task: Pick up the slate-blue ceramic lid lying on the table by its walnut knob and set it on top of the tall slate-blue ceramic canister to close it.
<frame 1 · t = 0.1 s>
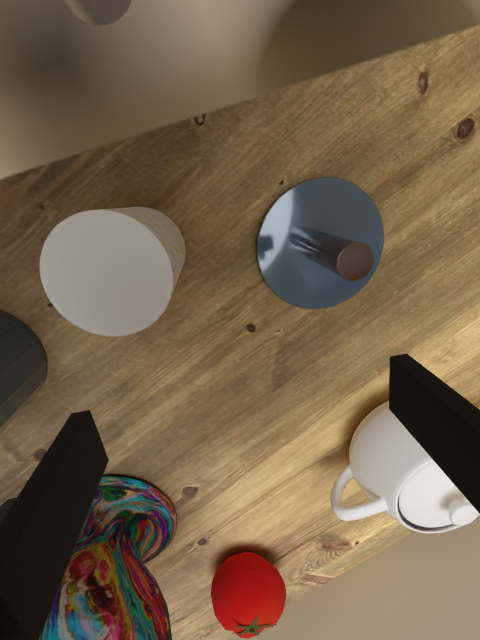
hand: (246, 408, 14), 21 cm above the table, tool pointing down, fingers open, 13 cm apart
teapot: (402, 429, 43), on the table
vase: (115, 519, 44), on the table
white cylinder: (144, 250, 32), on the table
tomato: (245, 560, 49), on the table
canister lid: (319, 247, 33), point 1 cm above the table
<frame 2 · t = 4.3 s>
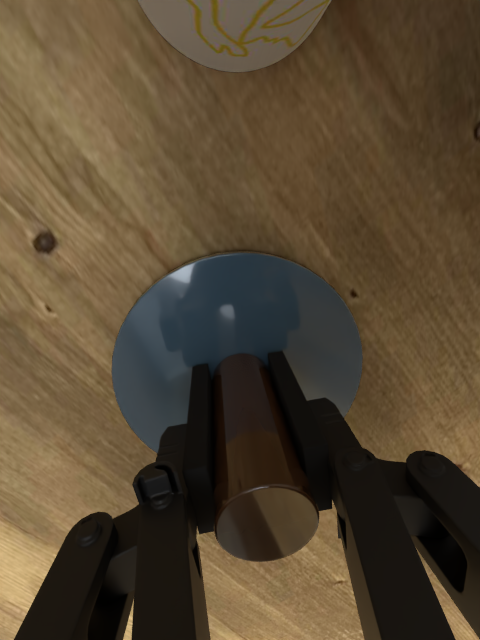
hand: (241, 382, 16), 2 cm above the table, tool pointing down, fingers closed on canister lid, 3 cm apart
canister lid: (240, 373, 17), point 1 cm above the table, touching gripper
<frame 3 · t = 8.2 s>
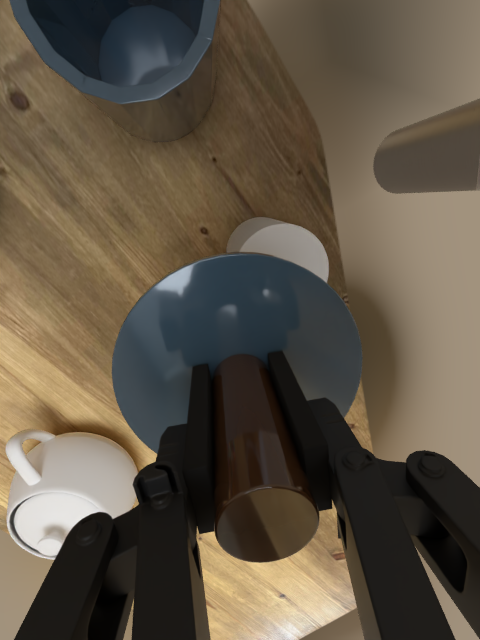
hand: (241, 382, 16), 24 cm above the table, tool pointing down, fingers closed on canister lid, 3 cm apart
teapot: (91, 467, 47), on the table
canister: (154, 74, 32), on the table
white cylinder: (260, 252, 39), on the table
canister lid: (240, 373, 17), point 24 cm above the table, touching gripper
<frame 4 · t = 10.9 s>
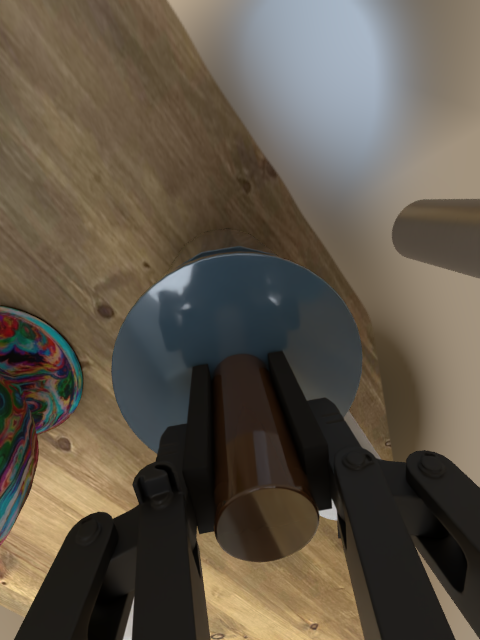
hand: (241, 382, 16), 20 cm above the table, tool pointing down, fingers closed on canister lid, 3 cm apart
vase: (8, 372, 37), on the table
canister: (225, 284, 35), on the table
white cylinder: (312, 411, 42), on the table
canister lid: (240, 373, 17), point 19 cm above the table, touching gripper
when the fingers open (15 cm above the table, at t = 12.4 s): canister lid stays where it is, resting on canister.
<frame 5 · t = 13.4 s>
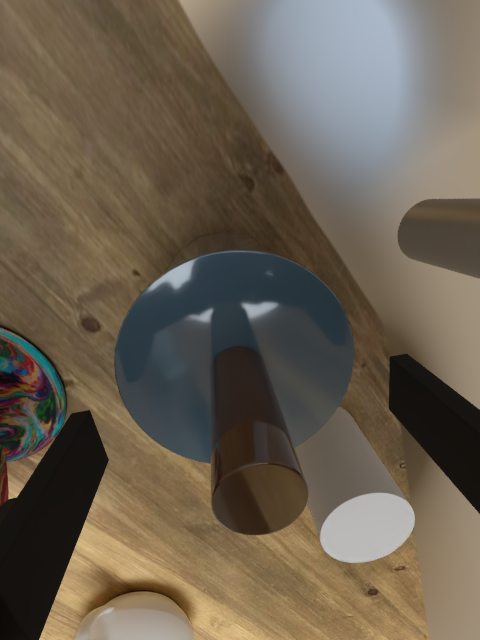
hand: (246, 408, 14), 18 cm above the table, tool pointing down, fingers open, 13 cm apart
teapot: (143, 616, 47), on the table
canister: (225, 294, 31), on the table
white cylinder: (320, 432, 38), on the table
canister lid: (237, 366, 18), point 14 cm above the table, touching canister
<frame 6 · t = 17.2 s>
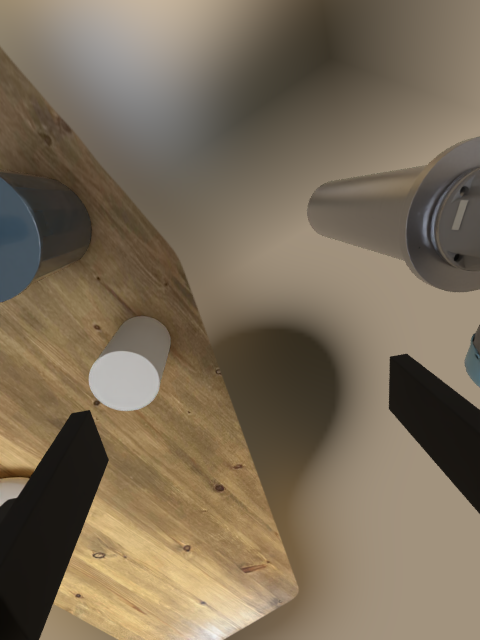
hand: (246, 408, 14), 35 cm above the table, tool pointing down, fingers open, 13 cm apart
teapot: (27, 502, 59), on the table
canister: (45, 224, 43), on the table
white cylinder: (144, 340, 50), on the table
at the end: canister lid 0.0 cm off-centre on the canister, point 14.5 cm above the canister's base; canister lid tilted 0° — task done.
